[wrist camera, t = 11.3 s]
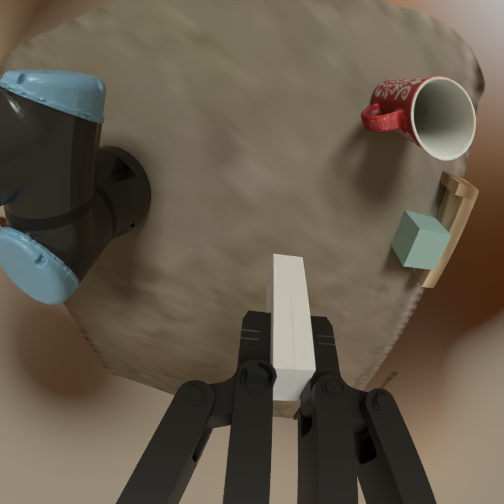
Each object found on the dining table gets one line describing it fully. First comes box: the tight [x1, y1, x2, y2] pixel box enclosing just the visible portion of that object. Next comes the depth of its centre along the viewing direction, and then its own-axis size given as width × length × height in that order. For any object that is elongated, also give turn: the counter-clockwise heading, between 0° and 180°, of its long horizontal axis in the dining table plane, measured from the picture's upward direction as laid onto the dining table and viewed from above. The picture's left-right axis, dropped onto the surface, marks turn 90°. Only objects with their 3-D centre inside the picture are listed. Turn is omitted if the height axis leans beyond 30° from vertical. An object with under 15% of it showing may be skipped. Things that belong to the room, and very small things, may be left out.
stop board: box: [412, 171, 479, 288], centre depth 38 cm, size 5×20×5 cm, turn 174°
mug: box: [361, 76, 476, 161], centre depth 25 cm, size 13×9×14 cm
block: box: [391, 211, 451, 270], centre depth 39 cm, size 7×7×6 cm
